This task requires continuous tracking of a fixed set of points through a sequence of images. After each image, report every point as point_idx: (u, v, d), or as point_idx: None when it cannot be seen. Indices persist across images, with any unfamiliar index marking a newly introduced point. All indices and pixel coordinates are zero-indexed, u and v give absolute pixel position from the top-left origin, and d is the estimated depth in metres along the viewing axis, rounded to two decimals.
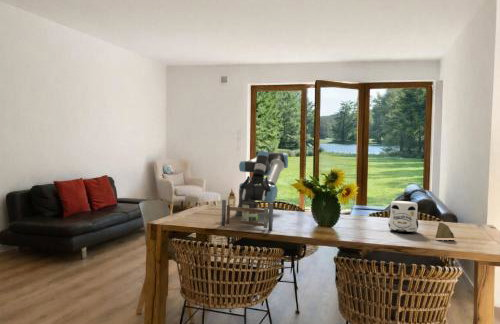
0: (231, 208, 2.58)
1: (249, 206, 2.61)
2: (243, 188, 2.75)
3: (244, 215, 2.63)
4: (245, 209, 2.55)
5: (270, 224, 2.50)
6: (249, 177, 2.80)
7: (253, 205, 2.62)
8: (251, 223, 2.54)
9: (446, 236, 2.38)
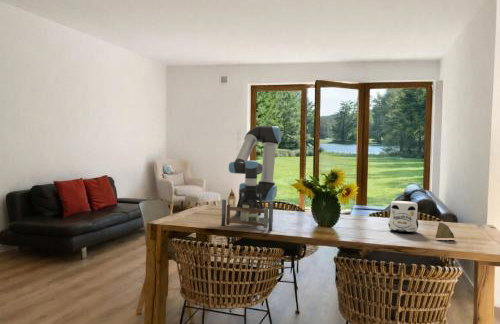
0: (231, 208, 2.58)
1: (249, 206, 2.61)
2: None
3: (244, 215, 2.63)
4: (245, 209, 2.55)
5: (270, 224, 2.50)
6: None
7: (253, 205, 2.62)
8: (251, 223, 2.54)
9: (446, 236, 2.38)
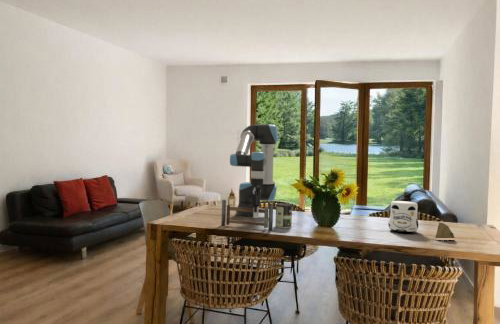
0: (231, 208, 2.58)
1: (283, 208, 2.58)
2: (257, 206, 2.50)
3: (278, 217, 2.60)
4: (245, 209, 2.55)
5: (270, 224, 2.50)
6: (254, 190, 2.45)
7: (287, 207, 2.58)
8: (251, 223, 2.55)
9: (446, 236, 2.38)
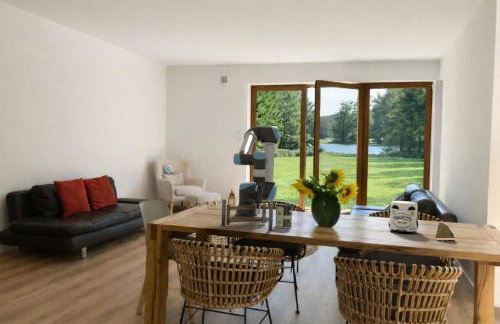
0: (232, 208, 2.59)
1: (283, 208, 2.58)
2: (259, 202, 2.62)
3: (278, 217, 2.60)
4: (246, 207, 2.63)
5: (270, 224, 2.50)
6: (257, 188, 2.58)
7: (287, 207, 2.58)
8: (251, 220, 2.65)
9: (446, 236, 2.38)
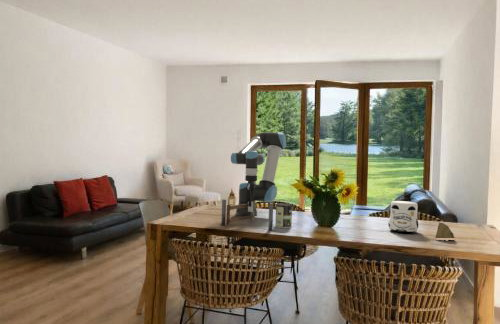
0: (231, 207, 2.60)
1: (283, 208, 2.58)
2: (251, 200, 2.71)
3: (278, 217, 2.60)
4: (241, 206, 2.67)
5: (270, 224, 2.50)
6: (249, 186, 2.66)
7: (287, 207, 2.58)
8: (245, 218, 2.71)
9: (446, 236, 2.38)
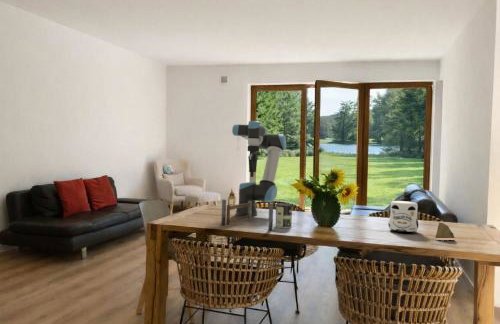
0: (231, 207, 2.61)
1: (283, 208, 2.58)
2: (254, 171, 2.70)
3: (278, 217, 2.60)
4: (240, 205, 2.68)
5: (270, 224, 2.50)
6: None
7: (287, 207, 2.58)
8: (243, 217, 2.72)
9: (446, 236, 2.38)
